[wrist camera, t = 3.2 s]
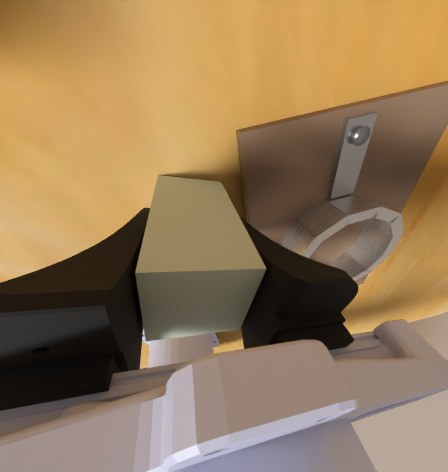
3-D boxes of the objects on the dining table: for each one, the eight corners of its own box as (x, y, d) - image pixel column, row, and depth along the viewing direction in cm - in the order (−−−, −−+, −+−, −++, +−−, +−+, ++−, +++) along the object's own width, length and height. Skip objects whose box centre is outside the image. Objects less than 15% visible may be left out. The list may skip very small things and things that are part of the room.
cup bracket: (357, 277, 24) (380, 300, 21) (255, 307, 23) (266, 335, 20) (451, 80, 11) (537, 74, 9) (236, 130, 11) (257, 141, 8)
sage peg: (220, 181, 12) (266, 268, 6) (212, 230, 15) (239, 329, 8) (158, 175, 11) (135, 272, 5) (159, 228, 13) (145, 341, 7)
